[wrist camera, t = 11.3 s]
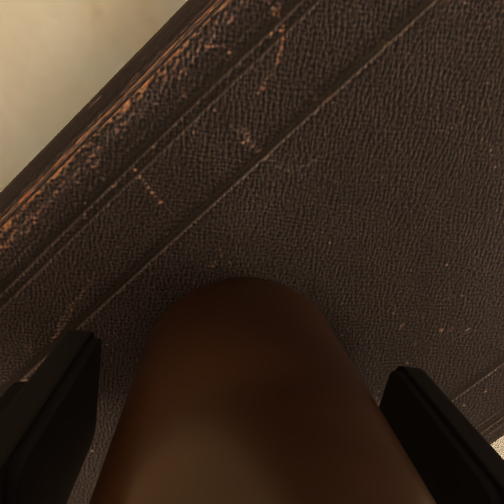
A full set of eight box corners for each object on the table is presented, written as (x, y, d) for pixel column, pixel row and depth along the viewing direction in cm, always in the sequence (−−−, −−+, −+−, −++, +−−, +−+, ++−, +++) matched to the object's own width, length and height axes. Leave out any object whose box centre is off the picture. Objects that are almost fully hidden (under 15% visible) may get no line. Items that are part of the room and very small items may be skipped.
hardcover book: (660, 245, 13) (747, 266, 11) (199, 582, 16) (196, 651, 14) (429, -219, 9) (499, -337, 7) (-144, 361, 12) (-226, 411, 10)
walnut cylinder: (358, 291, 10) (775, 744, 3) (313, 451, 12) (489, 1032, 4) (153, 262, 9) (-122, 785, 2) (134, 437, 11) (-59, 1121, 3)
